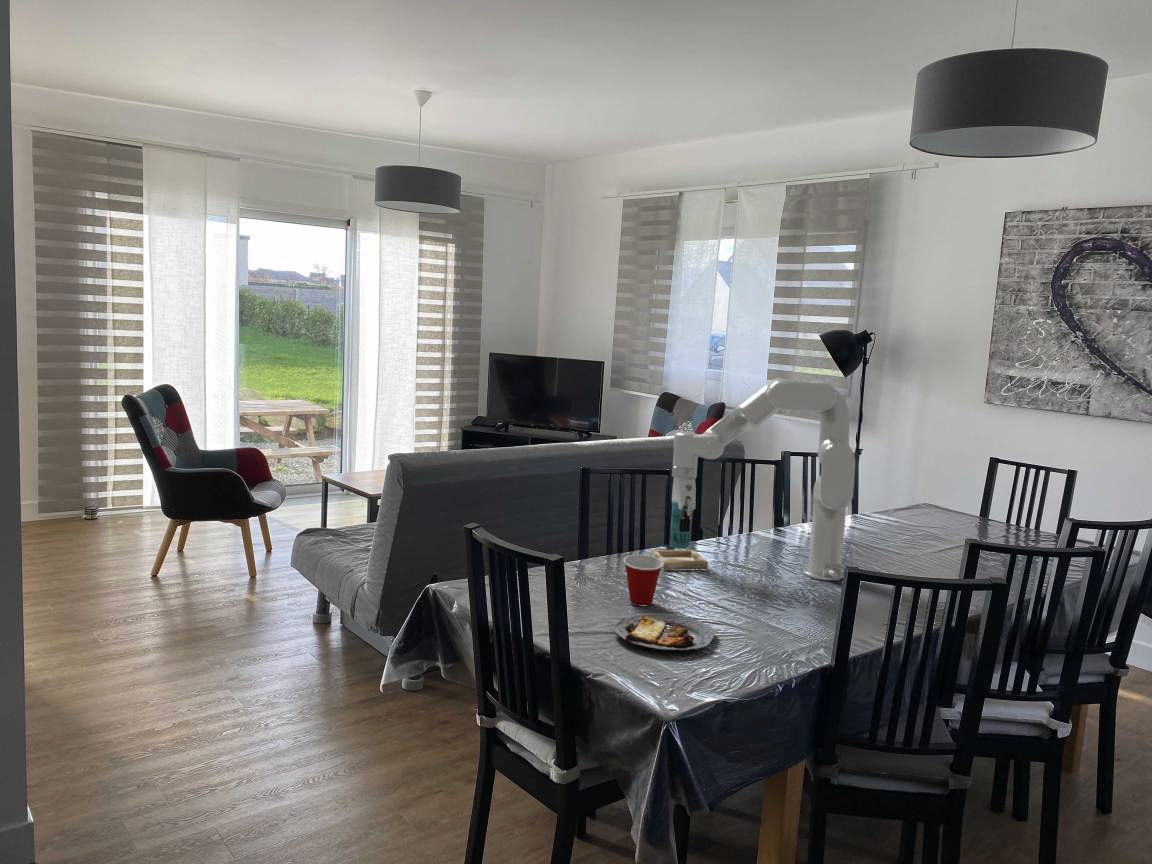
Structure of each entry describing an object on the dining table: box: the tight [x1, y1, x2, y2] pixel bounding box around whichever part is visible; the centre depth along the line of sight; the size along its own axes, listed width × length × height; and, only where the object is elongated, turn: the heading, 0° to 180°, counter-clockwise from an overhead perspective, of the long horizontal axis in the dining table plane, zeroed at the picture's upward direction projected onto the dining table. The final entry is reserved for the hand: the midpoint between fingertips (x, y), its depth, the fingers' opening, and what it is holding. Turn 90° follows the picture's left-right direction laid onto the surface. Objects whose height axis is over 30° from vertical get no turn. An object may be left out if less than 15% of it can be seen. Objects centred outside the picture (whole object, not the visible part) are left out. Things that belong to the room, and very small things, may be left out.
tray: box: [650, 549, 709, 570], centre depth 278 cm, size 14×14×2 cm
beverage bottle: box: [668, 499, 693, 549], centre depth 276 cm, size 6×7×20 cm
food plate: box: [613, 612, 718, 652], centre depth 214 cm, size 25×23×4 cm
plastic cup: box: [623, 554, 664, 606], centre depth 238 cm, size 11×11×12 cm
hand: (680, 528), depth 277 cm, fingers closed on beverage bottle, 6 cm apart
